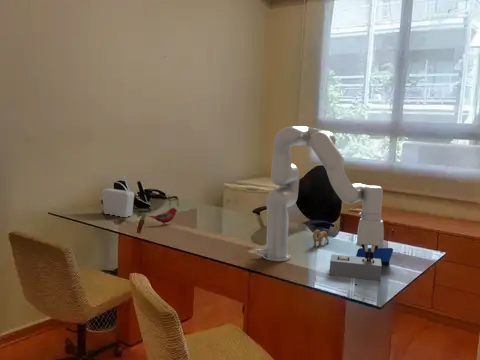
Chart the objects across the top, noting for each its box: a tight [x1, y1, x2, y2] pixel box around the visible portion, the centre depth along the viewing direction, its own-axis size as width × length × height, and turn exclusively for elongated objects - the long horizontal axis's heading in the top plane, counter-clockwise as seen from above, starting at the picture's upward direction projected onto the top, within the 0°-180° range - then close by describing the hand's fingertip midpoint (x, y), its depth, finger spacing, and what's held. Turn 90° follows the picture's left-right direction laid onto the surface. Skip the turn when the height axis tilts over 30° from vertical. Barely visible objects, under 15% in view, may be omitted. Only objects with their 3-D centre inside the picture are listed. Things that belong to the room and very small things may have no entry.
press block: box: [329, 254, 383, 281], centre depth 200 cm, size 20×10×6 cm, turn 76°
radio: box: [101, 175, 135, 218], centre depth 299 cm, size 22×8×25 cm, turn 58°
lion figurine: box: [312, 229, 330, 248], centre depth 243 cm, size 15×5×9 cm, turn 150°
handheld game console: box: [355, 247, 394, 266], centre depth 215 cm, size 16×13×9 cm
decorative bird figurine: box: [146, 207, 178, 226], centre depth 276 cm, size 3×18×10 cm, turn 112°
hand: (368, 260), depth 198 cm, fingers closed
